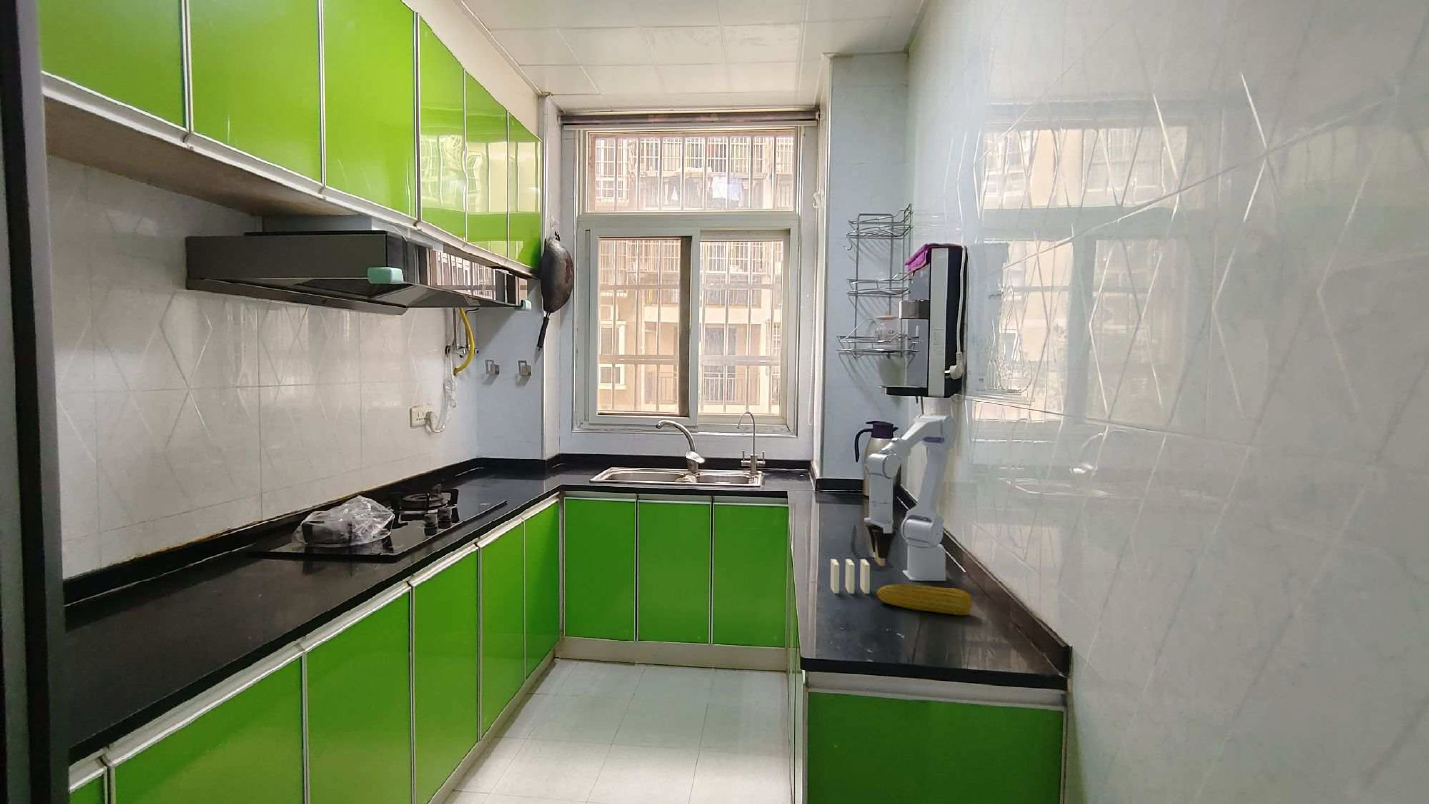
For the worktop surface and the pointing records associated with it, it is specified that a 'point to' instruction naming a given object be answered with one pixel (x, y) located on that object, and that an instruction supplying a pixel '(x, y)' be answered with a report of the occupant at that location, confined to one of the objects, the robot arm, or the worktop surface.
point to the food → (927, 598)
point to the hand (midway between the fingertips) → (880, 555)
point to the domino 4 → (879, 560)
